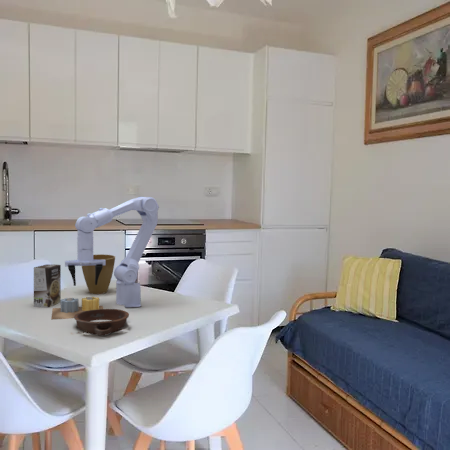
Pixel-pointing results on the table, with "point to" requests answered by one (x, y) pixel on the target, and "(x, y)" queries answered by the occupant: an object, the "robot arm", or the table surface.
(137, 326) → the table surface
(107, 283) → the plant pot
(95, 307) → the ochre gear
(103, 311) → the dish
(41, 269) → the coffee box
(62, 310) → the slate gear
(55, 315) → the gear board
